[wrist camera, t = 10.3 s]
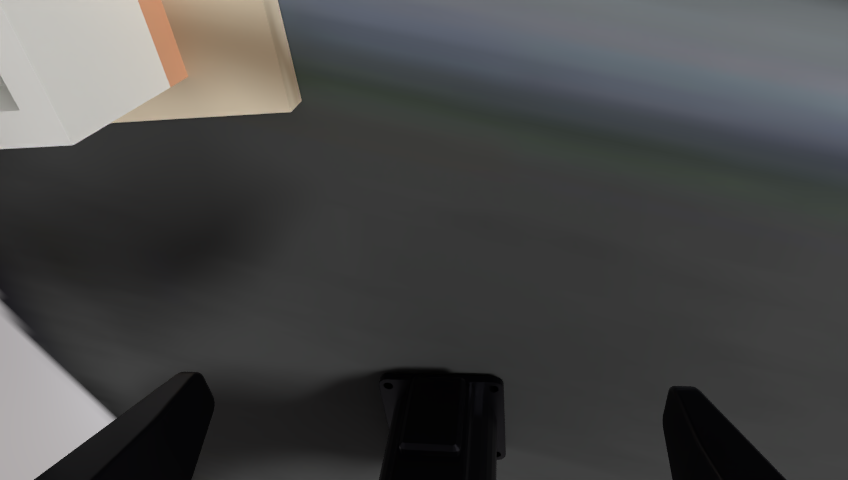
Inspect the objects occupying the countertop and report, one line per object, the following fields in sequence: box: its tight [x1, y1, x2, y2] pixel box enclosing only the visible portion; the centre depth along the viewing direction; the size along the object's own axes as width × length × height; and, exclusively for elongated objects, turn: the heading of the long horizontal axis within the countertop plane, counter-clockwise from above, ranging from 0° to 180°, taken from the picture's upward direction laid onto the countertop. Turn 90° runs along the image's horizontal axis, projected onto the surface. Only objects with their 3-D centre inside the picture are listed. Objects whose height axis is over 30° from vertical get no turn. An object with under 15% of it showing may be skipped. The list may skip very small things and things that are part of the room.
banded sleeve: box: [0, 0, 188, 149], centre depth 15 cm, size 5×5×6 cm
